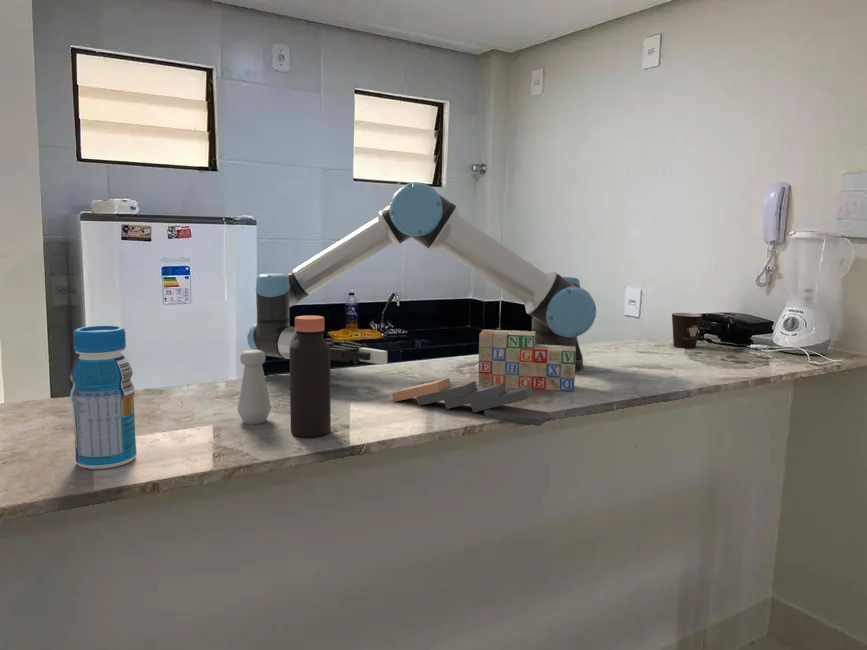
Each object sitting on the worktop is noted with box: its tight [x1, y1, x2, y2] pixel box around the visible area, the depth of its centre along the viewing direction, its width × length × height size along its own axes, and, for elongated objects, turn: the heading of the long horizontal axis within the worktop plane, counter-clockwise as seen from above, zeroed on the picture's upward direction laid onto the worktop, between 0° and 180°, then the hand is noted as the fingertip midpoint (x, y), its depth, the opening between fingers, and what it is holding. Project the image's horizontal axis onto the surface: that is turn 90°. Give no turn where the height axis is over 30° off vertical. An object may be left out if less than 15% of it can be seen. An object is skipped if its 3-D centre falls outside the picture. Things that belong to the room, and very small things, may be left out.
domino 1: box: [415, 380, 478, 407], centre depth 132 cm, size 2×5×11 cm
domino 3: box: [470, 385, 534, 413], centre depth 128 cm, size 2×5×11 cm
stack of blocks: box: [478, 329, 576, 393], centre depth 150 cm, size 21×6×12 cm, turn 78°
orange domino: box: [391, 377, 452, 403], centre depth 135 cm, size 2×5×11 cm
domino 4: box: [483, 405, 550, 427], centre depth 125 cm, size 2×5×11 cm
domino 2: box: [443, 383, 507, 410], centre depth 130 cm, size 2×5×11 cm
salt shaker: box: [237, 349, 272, 426], centre depth 120 cm, size 6×6×13 cm
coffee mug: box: [671, 312, 710, 350], centre depth 204 cm, size 12×9×10 cm
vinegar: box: [289, 314, 332, 439], centre depth 113 cm, size 7×7×20 cm
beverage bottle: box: [69, 325, 138, 470], centre depth 98 cm, size 8×8×20 cm
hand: (385, 357), depth 139 cm, fingers closed
